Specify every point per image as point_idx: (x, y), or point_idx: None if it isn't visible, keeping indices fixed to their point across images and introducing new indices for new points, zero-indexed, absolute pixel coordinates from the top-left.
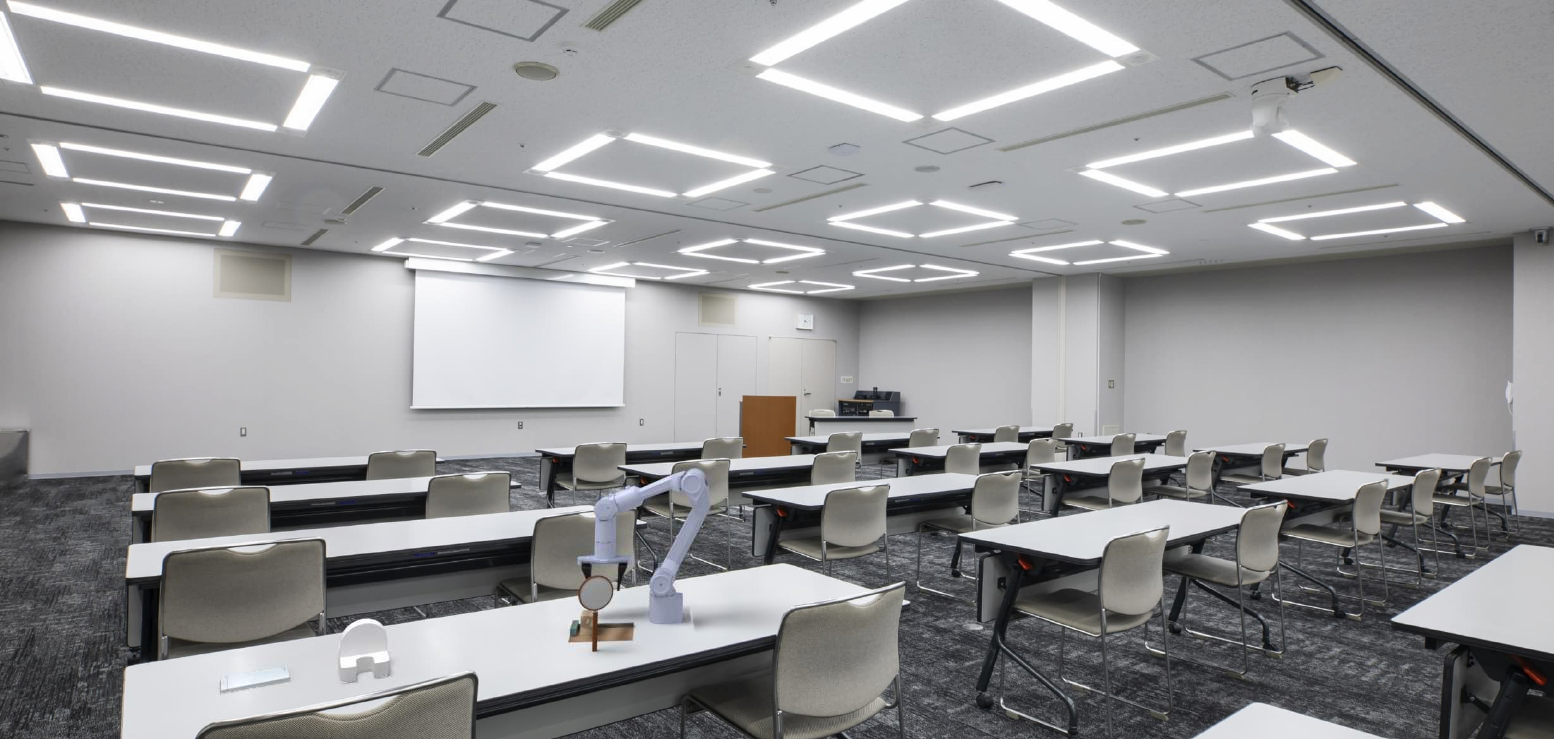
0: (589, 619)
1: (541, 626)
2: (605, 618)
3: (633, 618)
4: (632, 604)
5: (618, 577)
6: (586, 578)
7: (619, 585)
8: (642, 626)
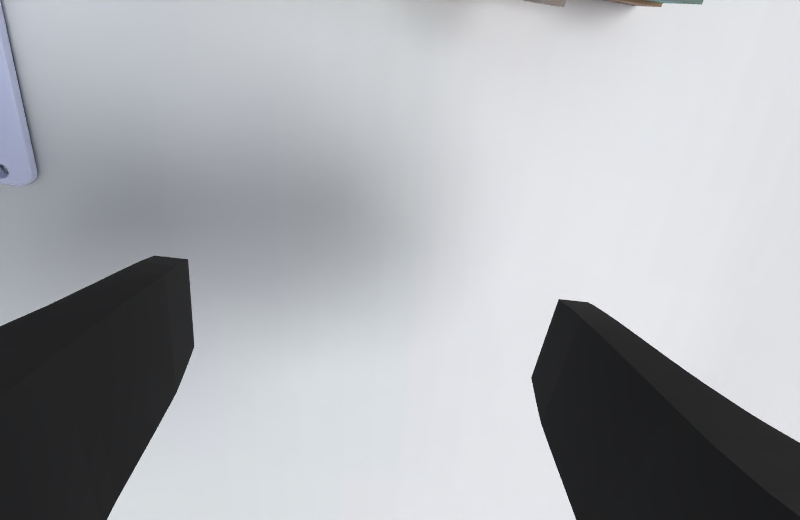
0: None
1: (795, 213)
2: (358, 286)
3: (162, 252)
4: (198, 473)
5: (9, 370)
6: (763, 431)
7: (98, 281)
8: (58, 53)
